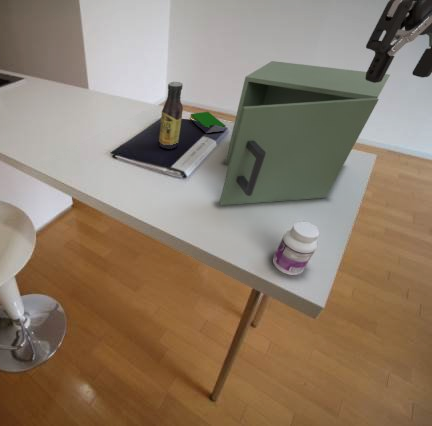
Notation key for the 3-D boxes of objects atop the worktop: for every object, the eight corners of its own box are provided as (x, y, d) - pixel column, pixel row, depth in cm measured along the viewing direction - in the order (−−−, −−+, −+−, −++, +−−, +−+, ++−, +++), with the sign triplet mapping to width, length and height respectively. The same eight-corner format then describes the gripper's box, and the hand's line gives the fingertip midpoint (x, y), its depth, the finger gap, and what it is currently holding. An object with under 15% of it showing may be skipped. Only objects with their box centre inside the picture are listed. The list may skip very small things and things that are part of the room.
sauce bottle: (155, 144, 96) (158, 82, 83) (170, 140, 98) (176, 78, 85) (166, 153, 91) (171, 88, 79) (182, 148, 93) (190, 84, 80)
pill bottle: (277, 250, 58) (294, 214, 52) (306, 263, 56) (327, 226, 49) (268, 266, 55) (285, 230, 49) (298, 281, 53) (320, 244, 46)
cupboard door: (341, 212, 66) (403, 110, 51) (229, 220, 66) (258, 120, 50) (323, 195, 71) (375, 97, 56) (219, 202, 71) (242, 106, 56)
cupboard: (324, 195, 71) (378, 96, 56) (224, 163, 85) (245, 76, 70) (341, 165, 81) (390, 74, 66) (249, 141, 95) (271, 60, 80)
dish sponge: (205, 134, 100) (207, 128, 98) (189, 119, 110) (190, 113, 109) (224, 132, 101) (226, 125, 99) (207, 117, 111) (208, 111, 110)
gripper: (459, -65, 31) (377, 90, 41) (566, -71, 33) (460, 81, 43) (395, -59, 37) (337, 76, 47) (489, -64, 38) (412, 68, 49)
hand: (396, 78), depth 45 cm, fingers open, 8 cm apart
